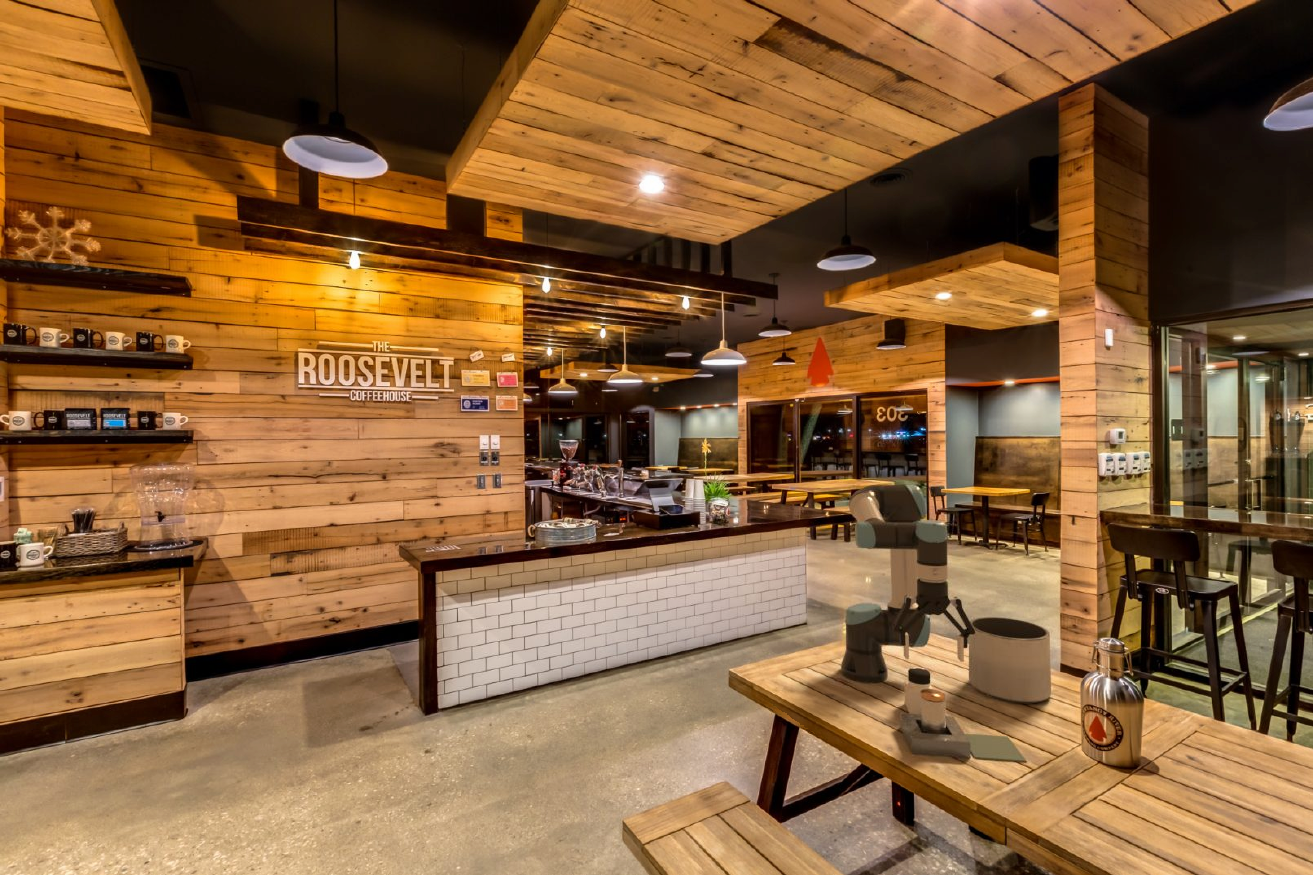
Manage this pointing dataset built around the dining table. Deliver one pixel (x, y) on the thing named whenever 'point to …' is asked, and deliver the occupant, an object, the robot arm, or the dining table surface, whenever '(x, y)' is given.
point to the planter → (1010, 660)
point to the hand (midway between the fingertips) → (933, 658)
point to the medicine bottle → (916, 688)
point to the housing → (935, 738)
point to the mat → (994, 748)
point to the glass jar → (933, 712)
